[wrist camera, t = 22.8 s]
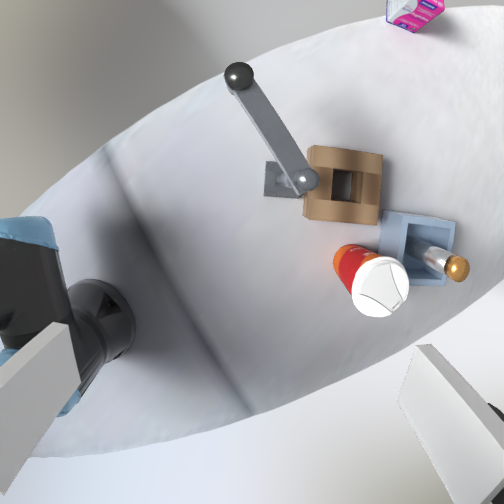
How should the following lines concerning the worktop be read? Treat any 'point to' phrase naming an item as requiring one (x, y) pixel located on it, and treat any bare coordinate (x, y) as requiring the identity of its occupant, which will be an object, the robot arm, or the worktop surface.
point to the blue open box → (420, 228)
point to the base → (271, 182)
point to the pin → (437, 258)
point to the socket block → (362, 188)
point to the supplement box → (413, 12)
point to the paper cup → (372, 280)
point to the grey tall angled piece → (271, 129)
